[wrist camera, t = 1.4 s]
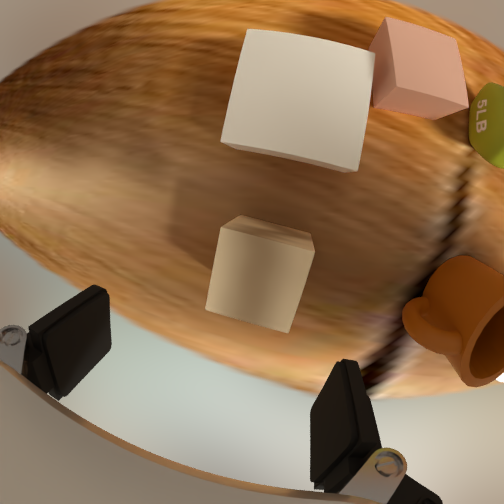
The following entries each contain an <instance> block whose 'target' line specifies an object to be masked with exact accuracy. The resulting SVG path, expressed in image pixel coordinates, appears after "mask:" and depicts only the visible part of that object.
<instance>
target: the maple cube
mask: <svg viewBox="0 0 504 504" xmlns="http://www.w3.org/2000/svg"><path fill="white" fill-rule="evenodd" d="M314 254H315V250H314V245H313V241H312V237H311V233H308V232H304V231H301V230H297V229H293V228H290V227H286V226H282V225H278V224H274V223H271V222H267V221H263V220H259V219H255V218H251V217H247V216H243V215H239V216H237V217H236V218H234V219H233V220H231V221H230V222H228V223H226V224H225V225H223V226H222V227H221V229H220V234H219V239H218V244H217V249H216V254H215V259H214V264H213V270H212V275H211V280H210V286H209V291H208V297H207V302H206V308H205V310H208V311H211V312H214V313H218V314H221V315H224V316H227V317H231V318H234V319H238V320H241V321H245V322H248V323H252V324H255V325H259V326H262V327H266V328H270V329H274V330H277V331H281V332H285V333H289V330H290V327H291V324H292V322H293V319H294V316H295V313H296V310H297V307H298V304H299V301H300V298H301V295H302V292H303V289H304V286H305V283H306V280H307V276H308V273H309V270H310V267H311V264H312V260H313V257H314Z"/></svg>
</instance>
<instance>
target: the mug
mask: <svg viewBox="0 0 504 504" xmlns="http://www.w3.org/2000/svg"><path fill="white" fill-rule="evenodd" d="M402 321H403V324H404V327H405V329H406V331H407V332H408V334H409V335H410V336H411V337H412V338H413V339H414V340H415V341H416V342H417V343H419V344H420V345H422V346H423V347H425V348H426V349H428V350H431V351H433V352H435V353H439V354H443V355H445V356H446V357H447V359H448V360H449V362H450V363H451V365H452V366H453V367H454V369H455V371H456V372H457V374H458V375H459V377H460V378H461V380H462V381H463V382H464V383H465V384H466V385H467V386H471V387H479V386H483V385H486V384H488V383H490V382H492V381H493V380H495V379H497V378H498V377H500V376H501V375H502V374H503V373H504V275H502V274H501V273H499V272H497V271H495V270H494V269H492V268H490V267H489V266H487V265H485V264H483V263H482V262H480V261H478V260H476V259H474V258H473V257H471V256H465V255H459V256H456V257H453V258H451V259H448V260H447V261H446V262H445V263H443V264H442V265H441V266H440V267H438V269H437V270H436V271H435V272H434V274H433V275H432V276H431V277H430V279H429V281H428V283H427V285H426V287H425V289H424V291H423V295H422V297H418V298H414V299H412V300H410V301H409V302H408V303H407V304H406V305H405V307H404V309H403V311H402Z"/></svg>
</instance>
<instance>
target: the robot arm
mask: <svg viewBox="0 0 504 504" xmlns="http://www.w3.org/2000/svg"><path fill="white" fill-rule="evenodd" d="M111 344H112V343H111V328H110V299H109V294H108V293H107V291H106V289H104V288H102V287H100V286H97V285H92V286H90V287H88V288H87V289H85V290H84V291H82V292H80V293H79V294H77V295H76V296H74V297H73V298H71V299H69V300H68V301H66V302H65V303H63V304H62V305H60V306H59V307H57V308H55V309H54V310H52V311H51V312H50V313H48V314H46V315H45V316H43V317H42V318H40V319H39V320H37V321H36V322H35V323H33V324H32V325H30V326H29V333H26V331H25V330H24V329H23V328H22V327H20V326H17V325H8V326H5V327H3V328H2V329H0V504H443V503H442V500H441V499H440V497H439V496H438V495H437V494H435V493H434V492H432V491H430V490H429V489H427V488H426V487H424V486H422V485H421V484H419V483H418V482H417V481H415V480H414V479H412V478H411V477H409V476H408V475H406V474H405V473H406V471H407V462H406V460H405V458H404V457H403V455H402V454H401V453H400V452H398V451H397V450H394V449H391V448H382V446H381V441H380V437H379V433H378V429H377V424H376V420H375V416H374V412H373V408H372V405H371V401H370V398H369V396H367V394H366V390H365V386H364V383H363V379H362V375H361V372H360V368H359V365H358V362H357V361H353V360H348V359H342V360H341V362H336V364H335V365H334V367H333V369H332V371H331V373H330V375H329V377H328V379H327V381H326V383H325V384H324V386H323V388H322V390H321V392H320V393H319V395H318V397H317V399H316V401H315V402H314V404H313V406H312V408H311V412H310V438H311V439H310V444H311V445H310V454H311V455H310V456H311V458H310V481H311V482H314V489H319V490H324V493H323V492H313V491H303V490H294V489H286V488H279V487H272V486H266V485H260V484H255V483H250V482H244V481H239V480H235V479H231V478H227V477H223V476H218V475H215V474H211V473H208V472H204V471H201V470H197V469H195V468H192V467H188V466H185V465H182V464H179V463H177V462H174V461H171V460H168V459H166V458H163V457H161V456H158V455H156V454H153V453H151V452H148V451H146V450H144V449H141V448H139V447H137V446H135V445H133V444H130V443H128V442H126V441H124V440H122V439H120V438H118V437H116V436H114V435H112V434H110V433H108V432H107V431H105V430H103V429H101V428H99V427H97V426H96V425H94V424H92V423H90V422H89V421H87V420H85V419H83V418H82V417H80V416H79V415H77V414H76V413H74V412H72V411H71V410H69V409H68V408H66V407H65V406H63V405H62V404H60V403H59V402H57V401H56V400H55V399H57V400H58V401H59V400H60V399H61V398H62V397H63V396H64V397H65V396H67V395H68V394H69V393H70V392H71V391H72V390H73V388H75V387H76V385H77V384H78V383H79V382H80V381H81V380H82V379H83V378H84V377H85V376H86V375H87V374H88V373H89V372H90V370H92V369H93V368H94V366H95V365H96V364H97V363H98V362H99V361H100V360H101V359H102V358H103V357H104V356H105V355H106V354H107V353H108V352H109V351H110V349H111ZM496 380H497V381H499V382H504V373H503V374H502V375H501V376H500V377H498V378H497V379H496ZM48 392H49V394H50V395H51V396H52V397H54V398H55V399H53V398H52V397H50V396H49V395H47V393H48Z"/></svg>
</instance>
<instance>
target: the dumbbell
mask: <svg viewBox="0 0 504 504" xmlns="http://www.w3.org/2000/svg"><path fill="white" fill-rule="evenodd" d="M469 141H470V143H471V145H472V146H473V148H474V149H475V150H476V151H477V152H478V153H479V154H480V155H481V156H482V157H483V158H484V159H485V160H486V161H488V162H489V163H491V164H492V165H494V166H496V167H498V168H504V87H503V86H501V85H498V84H496V83H487V84H486V85H485V86H484V87H483V88H482V89H481V90H480V92H479V93H478V95H477V96H476V97H475V99H474V100H473V102H472V104H471V106H470V112H469Z"/></svg>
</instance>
